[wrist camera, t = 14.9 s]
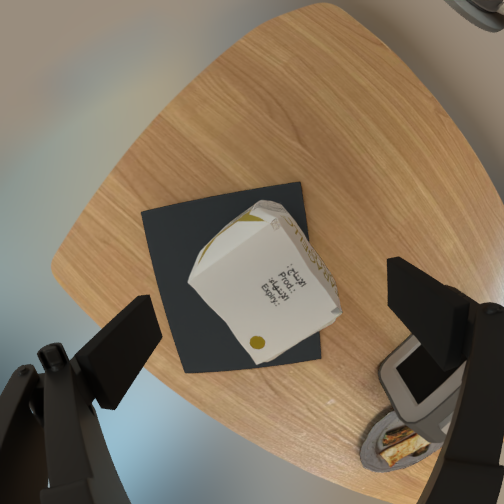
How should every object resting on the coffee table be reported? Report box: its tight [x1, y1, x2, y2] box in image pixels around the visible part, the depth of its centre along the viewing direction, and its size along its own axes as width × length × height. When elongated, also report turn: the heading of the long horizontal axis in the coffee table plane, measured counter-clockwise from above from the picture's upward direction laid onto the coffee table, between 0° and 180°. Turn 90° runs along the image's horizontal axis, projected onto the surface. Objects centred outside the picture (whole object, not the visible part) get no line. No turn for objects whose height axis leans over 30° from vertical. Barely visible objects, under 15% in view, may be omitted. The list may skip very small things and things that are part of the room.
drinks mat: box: [141, 182, 321, 373], centre depth 36 cm, size 24×20×1 cm
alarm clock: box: [378, 334, 467, 443], centre depth 30 cm, size 16×11×16 cm
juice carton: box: [188, 200, 343, 365], centre depth 25 cm, size 8×9×19 cm
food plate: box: [360, 411, 444, 472], centre depth 40 cm, size 25×23×4 cm
